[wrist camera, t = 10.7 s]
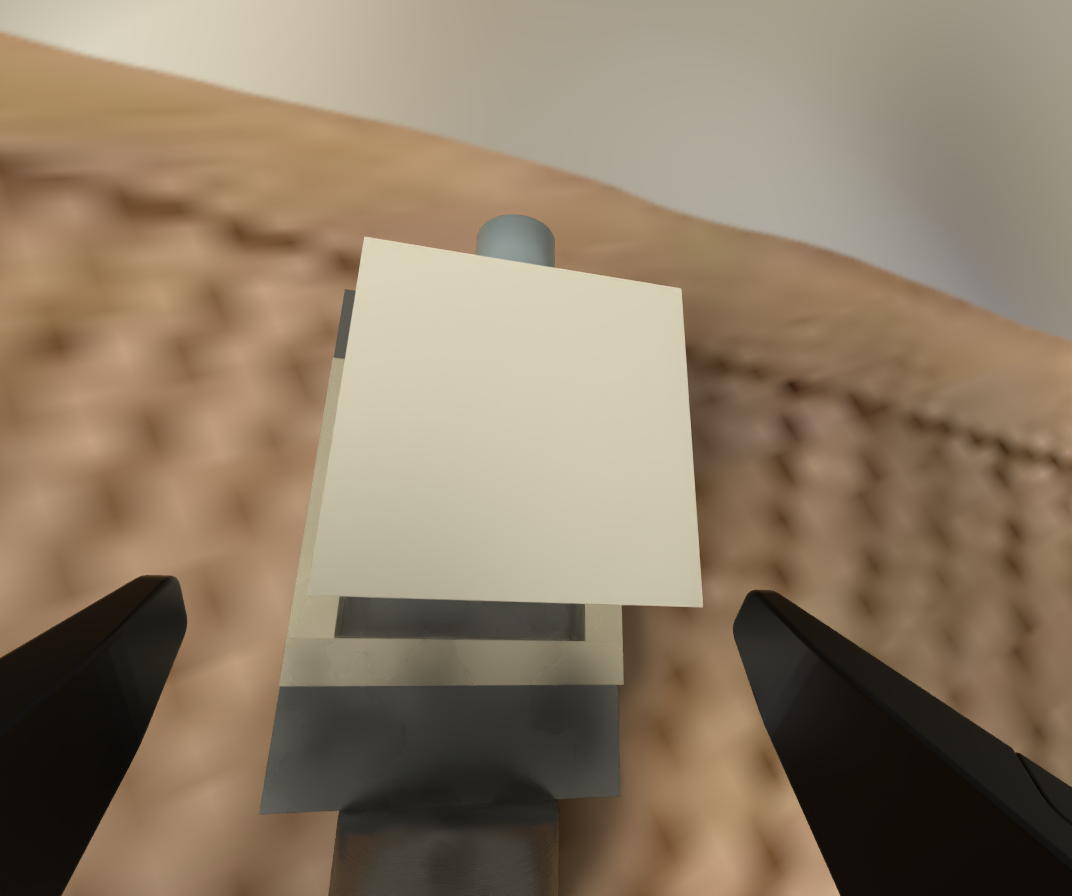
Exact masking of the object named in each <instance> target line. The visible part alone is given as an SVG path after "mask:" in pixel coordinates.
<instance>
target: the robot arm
mask: <svg viewBox="0 0 1072 896" xmlns="http://www.w3.org/2000/svg"><path fill="white" fill-rule="evenodd" d="M186 628H187V614H186V610H185V605H184V600H183V596H182V591H181V586H180V583H179V581H178V579H177V578H176V577H173V576H163V575H145V576H140V577H138V578H136V579H134V580H132V581H131V582H129V583H127V584H126V585H124V586H122V587H120V588H119V589H117V590H115V591H114V592H112V593H110V594H108V595H107V596H105V597H103V598H102V599H100V600H98V601H97V602H95V603H93V604H91V605H90V606H88V607H86V608H85V609H83V610H81V611H79V612H78V613H76V614H74V615H73V616H71V617H69V618H68V619H66V620H64V621H62V622H61V623H59V624H57V625H56V626H54V627H52V628H51V629H49V630H47V631H45V632H44V633H42V634H40V635H39V636H37V637H35V638H33V639H32V640H30V641H28V642H27V643H25V644H23V645H22V646H20V647H18V648H16V649H15V650H13V651H11V652H10V653H8V654H6V655H4V656H3V657H1V658H0V896H61V895H62V894H63V892H64V890H65V888H66V886H67V884H68V882H69V880H70V878H71V876H72V875H73V873H74V871H75V869H76V867H77V865H78V863H79V861H80V859H81V857H82V856H83V854H84V852H85V850H86V848H87V846H88V844H89V842H90V840H91V838H92V836H93V835H94V833H95V831H96V829H97V827H98V825H99V823H100V821H101V819H102V817H103V816H104V814H105V812H106V810H107V808H108V806H109V804H110V802H111V800H112V798H113V797H114V795H115V793H116V791H117V789H118V787H119V785H120V783H121V781H122V779H123V778H124V776H125V774H126V772H127V770H128V768H129V766H130V764H131V762H132V760H133V758H134V756H135V754H136V752H137V750H138V748H139V746H140V744H141V742H142V739H143V737H144V735H145V732H146V730H147V728H148V725H149V723H150V720H151V718H152V715H153V713H154V710H155V708H156V705H157V703H158V700H159V698H160V695H161V693H162V690H163V688H164V685H165V683H166V680H167V678H168V675H169V673H170V670H171V668H172V666H173V663H174V661H175V658H176V656H177V653H178V651H179V648H180V646H181V643H182V641H183V638H184V635H185V632H186ZM733 634H734V638H735V641H736V644H737V647H738V650H739V653H740V656H741V659H742V662H743V665H744V668H745V671H746V674H747V677H748V679H749V682H750V685H751V688H752V691H753V694H754V697H755V700H756V703H757V706H758V709H759V711H760V714H761V717H762V719H763V722H764V725H765V727H766V729H767V732H768V734H769V737H770V739H771V741H772V743H773V746H774V748H775V750H776V752H777V755H778V757H779V759H780V761H781V764H782V766H783V768H784V770H785V773H786V775H787V777H788V779H789V781H790V784H791V786H792V788H793V790H794V793H795V795H796V797H797V799H798V802H799V804H800V806H801V808H802V811H803V813H804V815H805V817H806V820H807V822H808V824H809V826H810V829H811V831H812V833H813V835H814V838H815V840H816V842H817V844H818V847H819V849H820V851H821V853H822V855H823V858H824V860H825V862H826V864H827V867H828V869H829V871H830V873H831V876H832V878H833V880H834V882H835V885H836V887H837V889H838V891H839V894H840V896H1072V787H1070V786H1069V785H1067V784H1066V783H1064V782H1063V781H1061V780H1060V779H1058V778H1057V777H1055V776H1053V775H1052V774H1050V773H1049V772H1047V771H1046V770H1044V769H1043V768H1041V767H1040V766H1038V765H1037V764H1035V763H1034V762H1032V761H1031V760H1029V759H1028V758H1026V757H1025V756H1023V755H1022V754H1020V753H1015V752H1014V750H1013V749H1012V748H1011V747H1010V746H1008V745H1007V744H1005V743H1004V742H1002V741H1001V740H999V739H998V738H996V737H995V736H993V735H992V734H990V733H988V732H987V731H985V730H984V729H982V728H981V727H979V726H978V725H976V724H975V723H973V722H972V721H970V720H969V719H967V718H966V717H964V716H963V715H961V714H960V713H958V712H957V711H955V710H954V709H952V708H951V707H949V706H948V705H946V704H945V703H943V702H942V701H940V700H939V699H937V698H936V697H934V696H933V695H931V694H930V693H928V692H927V691H925V690H924V689H922V688H921V687H919V686H918V685H916V684H915V683H913V682H912V681H910V680H908V679H907V678H905V677H904V676H902V675H901V674H899V673H898V672H896V671H895V670H893V669H892V668H890V667H889V666H887V665H886V664H884V663H883V662H881V661H880V660H878V659H877V658H875V657H874V656H872V655H871V654H869V653H868V652H866V651H865V650H863V649H862V648H860V647H859V646H857V645H856V644H854V643H853V642H851V641H850V640H848V639H847V638H845V637H844V636H842V635H841V634H839V633H838V632H836V631H835V630H833V629H832V628H830V627H829V626H827V625H826V624H824V623H823V622H821V621H820V620H818V619H817V618H815V617H814V616H812V615H810V614H809V613H807V612H806V611H804V610H803V609H801V608H800V607H798V606H797V605H795V604H794V603H792V602H791V601H789V600H788V599H786V598H785V597H783V596H782V595H780V594H779V593H777V592H775V591H772V590H752V591H750V592H749V593H748V594H747V596H746V598H745V600H744V602H743V604H742V606H741V608H740V610H739V613H738V615H737V617H736V619H735V621H734V625H733Z"/></svg>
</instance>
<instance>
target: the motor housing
mask: <svg viewBox="0 0 1072 896" xmlns="http://www.w3.org/2000/svg"><path fill="white" fill-rule="evenodd" d="M355 293H356V291H354V290H347V289H345V293H344V299H343V305H342V311H341V318H340V324H339V330H338V336H337V342H336V348H335V354H334V358H333V360H332V366H331V372H330V378H329V384H328V391H327V397H326V403H325V409H324V415H323V421H322V427H321V433H320V439H319V445H318V451H317V457H316V464H315V470H314V476H313V482H312V488H311V494H310V500H309V506H308V512H307V518H306V524H305V530H304V537H303V543H302V549H301V555H300V561H299V567H298V573H297V579H296V585H295V591H294V597H293V603H292V610H291V616H290V622H289V628H288V634H287V640H286V646H285V652H284V658H283V664H282V670H281V676H280V683H279V686H280V690H279V696H278V702H277V709H276V715H275V721H274V727H273V733H272V739H271V745H270V751H269V757H268V763H267V770H266V776H265V782H264V788H263V794H262V800H261V806H260V812H259V814H278V813H297V812H317V811H337V810H340V811H339V815H338V823H337V831H336V839H335V847H334V855H333V863H332V871H331V880H330V888H329V896H558V867H559V806H558V803H557V801H556V799H573V798H593V797H612V796H620V753H619V706H618V685H624V676H623V636H622V605H601V604H563V603H528V602H495V601H462V600H429V599H396V598H367V597H342V596H317V595H307V593H308V587H309V581H310V574H311V568H312V562H313V556H314V549H315V543H316V537H317V531H318V524H319V518H320V512H321V506H322V499H323V493H324V487H325V481H326V474H327V468H328V462H329V456H330V449H331V443H332V437H333V430H334V424H335V418H336V412H337V405H338V399H339V393H340V387H341V380H342V374H343V368H344V362H345V355H346V349H347V343H348V337H349V330H350V324H351V318H352V312H353V305H354V299H355Z"/></svg>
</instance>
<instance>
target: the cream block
mask: <svg viewBox="0 0 1072 896" xmlns="http://www.w3.org/2000/svg"><path fill="white" fill-rule="evenodd" d="M307 595H317V596H342V597H367V598H396V599H429V600H462V601H495V602H528V603H563V604H601V605H638V606H676V607H703V597H702V583H701V568H700V554H699V539H698V524H697V510H696V495H695V481H694V466H693V451H692V437H691V422H690V408H689V393H688V378H687V364H686V349H685V335H684V320H683V305H682V291H681V288H676V287H669V286H663V285H657V284H651V283H645V282H639V281H633V280H627V279H620V278H614V277H608V276H602V275H596V274H590V273H584V272H577V271H571V270H565V269H559V268H555V239H554V236H553V234H552V232H551V231H550V229H549V228H548V227H547V226H546V225H544V224H543V223H542V222H540V221H538V220H536V219H534V218H531V217H528V216H524V215H513V214H512V215H503V216H499V217H496V218H493V219H491V220H489V221H488V222H486V223H485V224H484V225H483V226H482V227H481V228H480V230H479V232H478V235H477V243H476V255H473V254H467V253H461V252H455V251H449V250H442V249H436V248H430V247H424V246H418V245H412V244H406V243H400V242H393V241H387V240H381V239H375V238H369V237H364V243H363V249H362V255H361V262H360V268H359V274H358V280H357V287H356V293H355V299H354V305H353V312H352V318H351V324H350V330H349V337H348V343H347V349H346V355H345V362H344V368H343V374H342V380H341V387H340V393H339V399H338V405H337V412H336V418H335V424H334V430H333V437H332V443H331V449H330V456H329V462H328V468H327V474H326V481H325V487H324V493H323V499H322V506H321V512H320V518H319V524H318V531H317V537H316V543H315V549H314V556H313V562H312V568H311V574H310V581H309V587H308V593H307Z"/></svg>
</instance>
